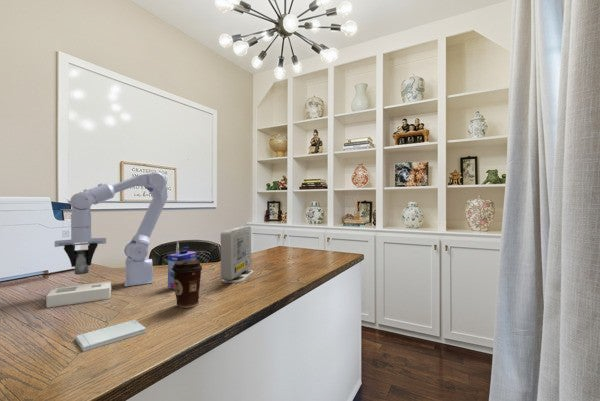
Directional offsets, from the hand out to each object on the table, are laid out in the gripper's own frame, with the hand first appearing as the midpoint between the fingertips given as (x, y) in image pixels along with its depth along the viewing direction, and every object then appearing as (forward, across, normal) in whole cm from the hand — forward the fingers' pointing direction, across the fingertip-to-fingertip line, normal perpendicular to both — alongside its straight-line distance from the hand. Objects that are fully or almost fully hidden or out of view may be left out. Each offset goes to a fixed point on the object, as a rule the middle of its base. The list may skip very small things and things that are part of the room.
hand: (81, 265), depth 105 cm
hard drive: (+10, -12, +46) cm, 49 cm away
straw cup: (+10, -32, +10) cm, 35 cm away
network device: (+10, -54, +8) cm, 55 cm away
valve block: (+10, -1, +8) cm, 13 cm away
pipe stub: (+3, 0, 0) cm, 3 cm away
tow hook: (+10, -37, -29) cm, 48 cm away
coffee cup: (+10, -30, +33) cm, 46 cm away
